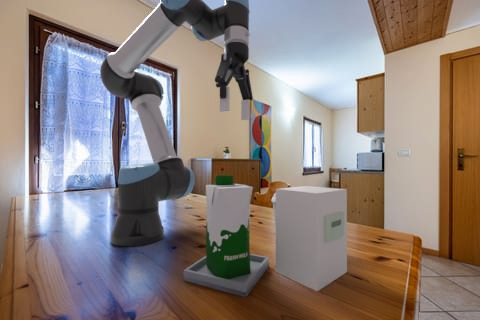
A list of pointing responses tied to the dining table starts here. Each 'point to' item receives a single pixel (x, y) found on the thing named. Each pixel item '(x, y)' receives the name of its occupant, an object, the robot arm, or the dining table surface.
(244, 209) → the milk carton
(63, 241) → the dining table surface
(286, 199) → the box
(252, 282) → the tray
